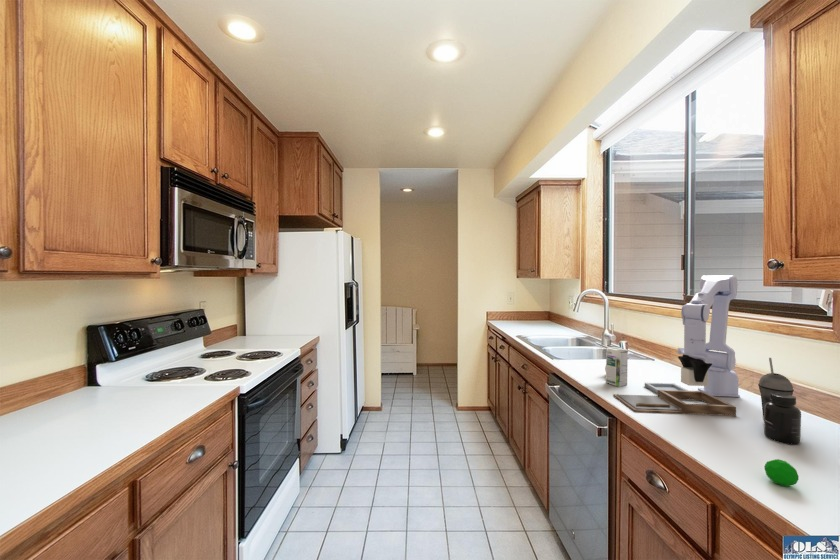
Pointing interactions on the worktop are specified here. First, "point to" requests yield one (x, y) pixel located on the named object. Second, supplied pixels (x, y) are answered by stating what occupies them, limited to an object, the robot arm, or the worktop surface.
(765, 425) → the supplement bottle
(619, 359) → the syrup box
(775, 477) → the green rounded piece
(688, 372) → the block
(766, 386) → the beverage cup
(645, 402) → the open case
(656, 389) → the tray
